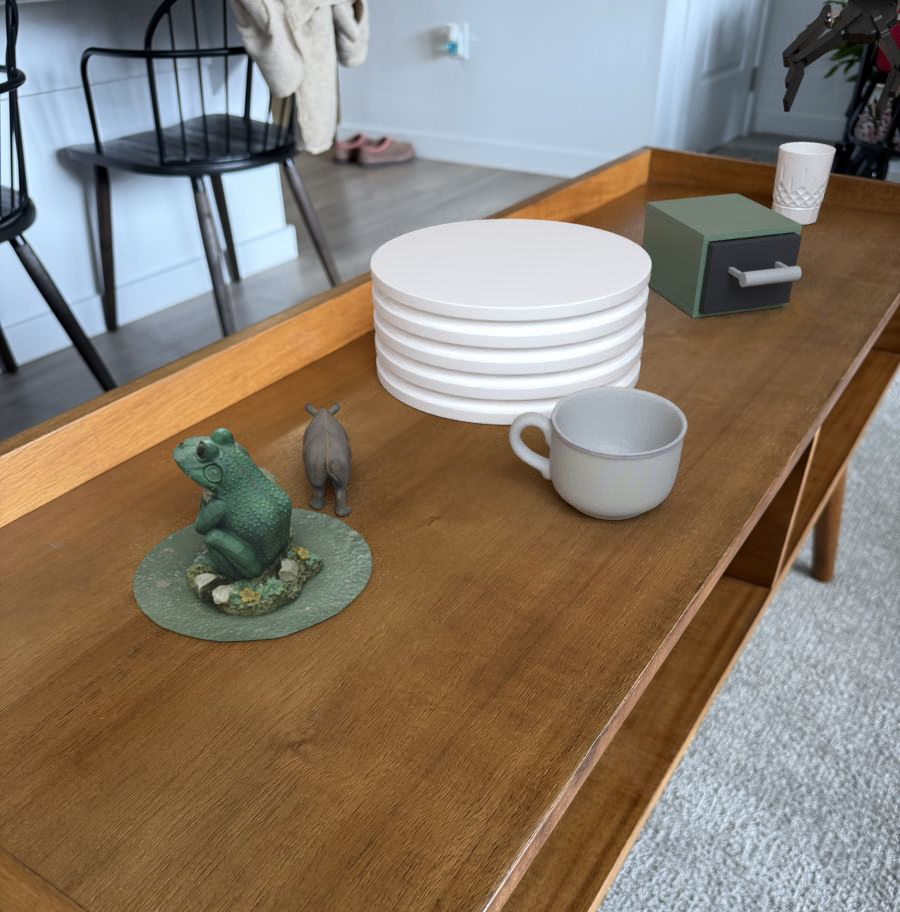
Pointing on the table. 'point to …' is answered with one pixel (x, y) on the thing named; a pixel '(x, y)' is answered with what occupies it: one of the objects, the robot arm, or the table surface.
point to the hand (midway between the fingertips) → (830, 110)
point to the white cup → (801, 180)
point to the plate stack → (507, 316)
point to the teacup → (608, 449)
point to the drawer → (749, 272)
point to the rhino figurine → (327, 457)
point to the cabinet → (701, 241)
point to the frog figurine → (247, 555)
